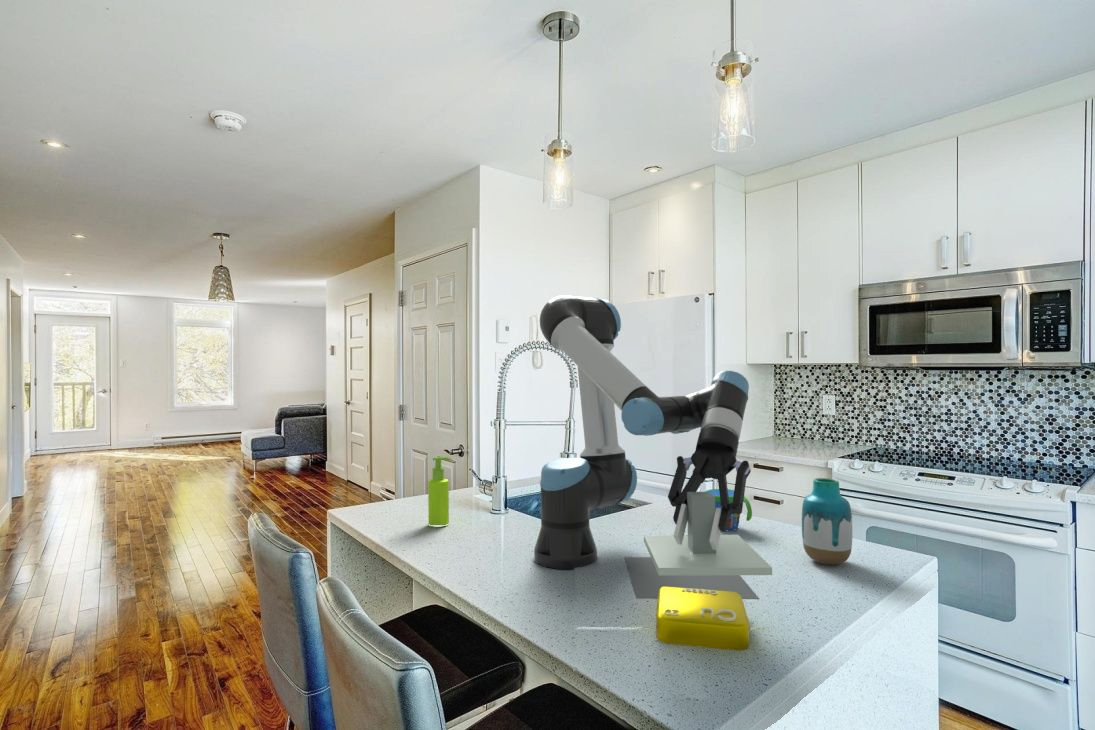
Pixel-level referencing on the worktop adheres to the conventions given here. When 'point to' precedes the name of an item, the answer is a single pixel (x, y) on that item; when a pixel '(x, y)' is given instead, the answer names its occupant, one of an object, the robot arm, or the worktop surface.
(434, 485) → the soap dispenser
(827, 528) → the vase
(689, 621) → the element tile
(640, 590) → the rubber mat
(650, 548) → the sage lid
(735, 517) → the snack cup
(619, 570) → the worktop surface
